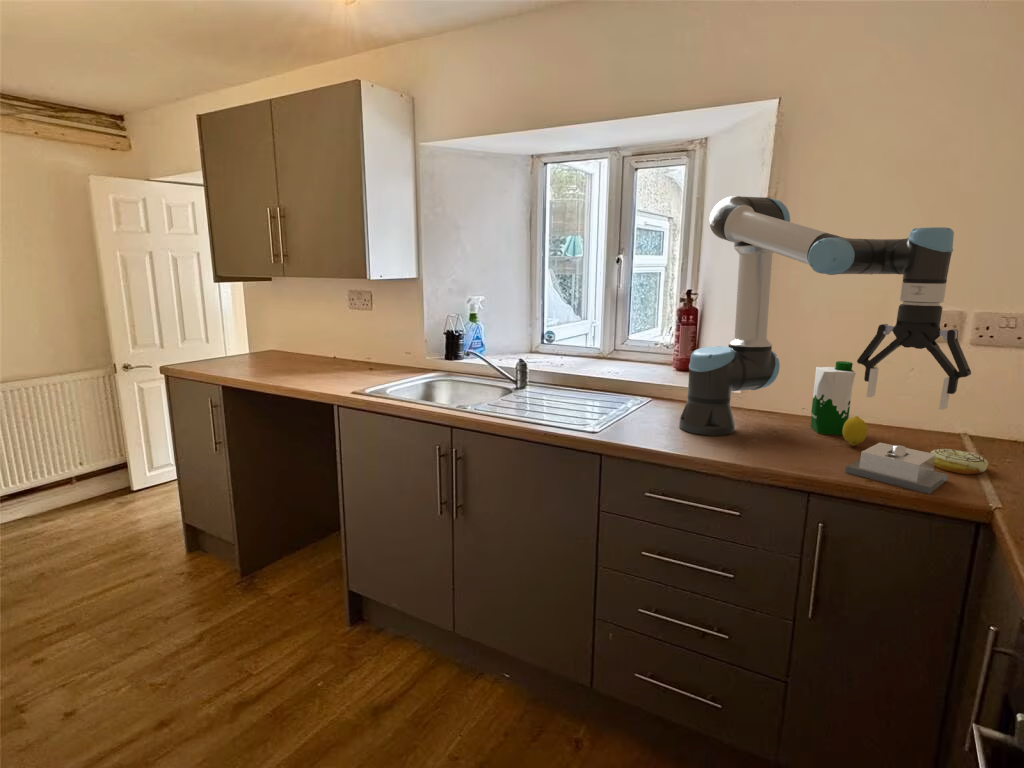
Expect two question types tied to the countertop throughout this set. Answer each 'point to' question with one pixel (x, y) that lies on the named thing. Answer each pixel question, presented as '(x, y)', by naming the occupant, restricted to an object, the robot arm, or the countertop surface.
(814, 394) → the milk carton
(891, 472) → the white boxy piece
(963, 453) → the decorated donut
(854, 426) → the lemon
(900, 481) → the fixture
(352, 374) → the countertop surface
